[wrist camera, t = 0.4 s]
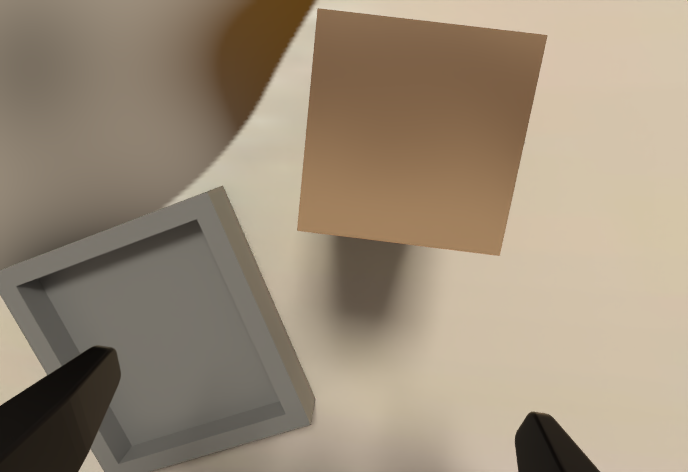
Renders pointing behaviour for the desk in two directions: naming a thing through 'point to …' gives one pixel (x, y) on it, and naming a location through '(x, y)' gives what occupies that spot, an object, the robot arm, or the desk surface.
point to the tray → (167, 333)
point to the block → (415, 130)
